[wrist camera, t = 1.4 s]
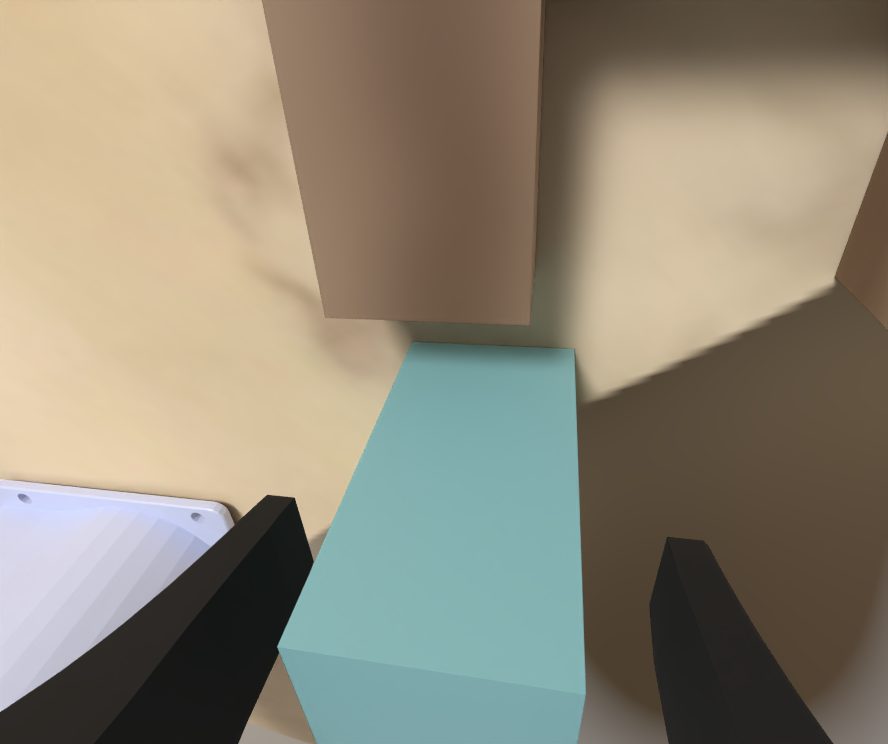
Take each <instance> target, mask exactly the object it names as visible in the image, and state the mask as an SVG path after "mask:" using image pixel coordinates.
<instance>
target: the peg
mask: <svg viewBox="0 0 888 744" xmlns="http://www.w3.org/2000/svg"><path fill="white" fill-rule="evenodd" d="M577 448H578V446H577V418H576V387H575V357H574V349H565V348H542V347H520V346H497V345H475V344H452V343H430V342H412V343H411V346H410V348H409V350H408V352H407V355H406V357H405V359H404V361H403V364H402V366H401V368H400V370H399V373H398V375H397V377H396V380H395V382H394V384H393V386H392V389H391V391H390V393H389V395H388V398H387V400H386V402H385V404H384V407H383V409H382V411H381V413H380V416H379V418H378V420H377V422H376V425H375V427H374V429H373V431H372V434H371V436H370V438H369V441H368V443H367V445H366V447H365V450H364V452H363V454H362V456H361V459H360V461H359V463H358V465H357V468H356V470H355V472H354V474H353V477H352V479H351V481H350V483H349V486H348V488H347V490H346V492H345V495H344V497H343V499H342V502H341V504H340V506H339V508H338V511H337V513H336V515H335V517H334V520H333V522H332V524H331V526H330V529H329V531H328V533H327V535H326V538H325V540H324V542H323V544H322V547H321V549H320V551H319V553H318V556H317V558H316V560H315V563H314V565H313V567H312V569H311V572H310V574H309V576H308V578H307V581H306V583H305V585H304V587H303V590H302V592H301V594H300V596H299V599H298V601H297V603H296V605H295V608H294V610H293V612H292V614H291V617H290V619H289V621H288V624H287V626H286V628H285V630H284V633H283V635H282V637H281V639H280V642H279V644H278V646H277V648H278V650H279V653H280V655H281V658H282V660H283V662H284V665H285V667H286V670H287V672H288V675H289V677H290V680H291V682H292V684H293V687H294V689H295V692H296V694H297V697H298V699H299V701H300V704H301V706H302V709H303V711H304V714H305V716H306V719H307V721H308V723H309V726H310V728H311V731H312V733H313V736H314V738H315V740H316V743H317V744H577V742H578V736H579V731H580V725H581V719H582V714H583V708H584V702H585V697H586V686H585V685H586V682H585V654H584V625H583V624H584V623H583V595H582V567H581V535H580V505H579V477H578V449H577Z"/></svg>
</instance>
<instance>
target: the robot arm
mask: <svg viewBox="0 0 888 744" xmlns="http://www.w3.org/2000/svg"><path fill="white" fill-rule="evenodd" d="M313 562H314V561H313V557H312V554H311V551H310V547H309V544H308V541H307V537H306V534H305V531H304V527H303V524H302V521H301V517H300V514H299V511H298V507H297V504H296V501H295V498H292V497H283V496H273V495H267V496H265V497H264V498H263V499H262V500H261V501H260V502H259V503H258V504H257V505H256V506H254V507H253V508H252V509H251V510H250V511H249V512H248V513H247V514H246V515H245V516H244V517H243V518H242V519H240V520H239V521H238V522H237V523H236V524H235V525H234V522H233V520H232V517H231V515H230V512H229V511H228V509H227V508H226V507H225V506H224V505H222V504H220V503H218V502H214V501H204V500H195V499H185V498H176V497H166V496H157V495H147V494H137V493H128V492H118V491H109V490H99V489H90V488H80V487H71V486H61V485H52V484H42V483H33V482H23V481H14V480H0V744H238V743H239V740H240V738H241V735H242V733H243V731H244V728H245V726H246V724H247V721H248V719H249V717H250V715H251V713H252V711H253V708H254V706H255V704H256V702H257V700H258V698H259V695H260V693H261V691H262V689H263V687H264V684H265V682H266V680H267V678H268V676H269V674H270V671H271V669H272V667H273V665H274V663H275V661H276V658H277V656H278V654H279V650H278V648H277V646H278V644H279V642H280V639H281V637H282V635H283V633H284V630H285V628H286V626H287V624H288V621H289V619H290V617H291V614H292V612H293V610H294V608H295V605H296V603H297V601H298V599H299V596H300V594H301V592H302V590H303V587H304V585H305V583H306V581H307V578H308V576H309V574H310V572H311V569H312V566H313ZM650 618H651V632H652V643H653V644H652V645H653V655H654V665H655V671H656V676H657V682H658V688H659V693H660V698H661V704H662V709H663V715H664V720H665V725H666V731H667V736H668V742H669V744H833V743H832V741H831V740H830V738H829V737H828V736H827V734H826V733H825V731H824V730H823V729H822V727H821V726H820V724H819V723H818V722H817V720H816V719H815V717H814V716H813V715H812V713H811V712H810V710H809V709H808V708H807V706H806V705H805V703H804V702H803V700H802V699H801V697H800V696H799V694H798V693H797V692H796V690H795V689H794V687H793V686H792V684H791V683H790V681H789V680H788V678H787V677H786V675H785V673H784V672H783V670H782V669H781V667H780V666H779V664H778V663H777V661H776V660H775V658H774V656H773V655H772V654H771V652H770V650H769V649H768V648H767V646H766V644H765V643H764V641H763V640H762V638H761V636H760V635H759V633H758V632H757V630H756V628H755V627H754V625H753V624H752V622H751V620H750V619H749V617H748V615H747V614H746V612H745V610H744V608H743V607H742V605H741V604H740V602H739V600H738V599H737V597H736V595H735V593H734V591H733V590H732V588H731V586H730V585H729V583H728V581H727V579H726V577H725V576H724V574H723V572H722V570H721V568H720V567H719V565H718V563H717V561H716V559H715V557H714V555H713V554H712V552H711V550H710V548H709V546H708V545H707V544H706V543H705V542H704V541H700V540H691V539H682V538H673V537H672V538H671V537H667V539H666V544H665V547H664V551H663V555H662V559H661V562H660V566H659V570H658V574H657V578H656V581H655V585H654V589H653V593H652V597H651V601H650Z"/></svg>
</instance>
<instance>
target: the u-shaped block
mask: <svg viewBox="0 0 888 744" xmlns="http://www.w3.org/2000/svg"><path fill="white" fill-rule="evenodd" d="M262 3H263V8H264V13H265V18H266V23H267V28H268V33H269V38H270V43H271V48H272V53H273V58H274V63H275V68H276V73H277V78H278V83H279V88H280V93H281V98H282V103H283V108H284V113H285V118H286V123H287V128H288V133H289V138H290V144H291V149H292V154H293V159H294V164H295V169H296V174H297V179H298V184H299V189H300V194H301V199H302V204H303V209H304V214H305V219H306V224H307V229H308V234H309V239H310V244H311V249H312V254H313V259H314V264H315V269H316V274H317V279H318V284H319V289H320V294H321V299H322V304H323V309H324V314H325V318H343V319H370V320H397V321H424V322H450V323H477V324H504V325H530V316H531V306H532V296H533V286H534V276H535V260H536V235H537V209H538V184H539V159H540V134H541V109H542V83H543V58H544V33H545V8H546V0H262ZM835 277H836V278H837V279H838V280H839V281H840V282H841V283H842V284H843V285H844V286H845V287H846V288H847V289H848V290H849V291H850V292H851V293H852V294H853V295H854V297H856V299H857V300H859V302H861V303H862V305H863V306H864V307H866V309H867V310H868V311H869V312H870V313H871V314H872V315H873V316H874V317H875V318H876V319H877V320H878V321H879V322H880V323H881V324H882V325H883V326H884V327H885V328H886V329H887V330H888V135H887V137H886V140H885V143H884V145H883V148H882V151H881V154H880V156H879V159H878V162H877V164H876V167H875V170H874V172H873V175H872V178H871V181H870V183H869V186H868V189H867V191H866V194H865V197H864V200H863V202H862V205H861V208H860V210H859V213H858V216H857V218H856V221H855V224H854V227H853V229H852V232H851V235H850V237H849V240H848V243H847V246H846V248H845V251H844V254H843V256H842V259H841V262H840V264H839V267H838V270H837V273H836V275H835Z"/></svg>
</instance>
